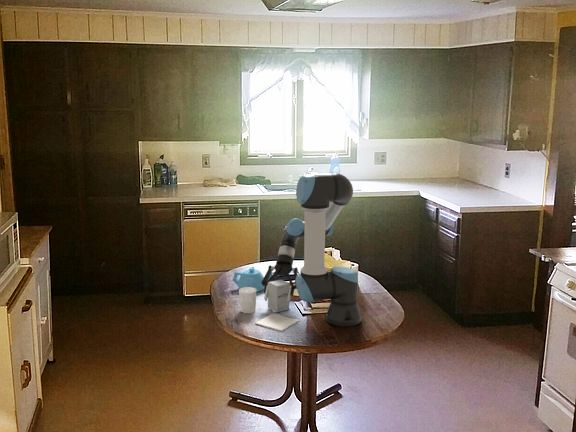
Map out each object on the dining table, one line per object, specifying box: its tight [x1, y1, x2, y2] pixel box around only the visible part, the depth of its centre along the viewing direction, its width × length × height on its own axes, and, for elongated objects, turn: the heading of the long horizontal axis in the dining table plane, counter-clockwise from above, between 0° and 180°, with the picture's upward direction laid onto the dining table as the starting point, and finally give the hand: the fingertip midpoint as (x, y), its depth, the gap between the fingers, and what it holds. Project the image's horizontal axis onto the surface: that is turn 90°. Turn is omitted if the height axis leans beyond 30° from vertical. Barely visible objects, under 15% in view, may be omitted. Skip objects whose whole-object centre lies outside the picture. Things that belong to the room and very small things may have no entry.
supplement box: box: [267, 278, 291, 313], centre depth 281 cm, size 7×7×13 cm
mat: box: [254, 313, 300, 333], centre depth 266 cm, size 14×13×1 cm
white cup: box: [238, 287, 257, 314], centre depth 279 cm, size 8×8×10 cm
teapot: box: [231, 266, 273, 293], centre depth 308 cm, size 15×15×11 cm
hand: (276, 300), depth 279 cm, fingers closed on supplement box, 10 cm apart
